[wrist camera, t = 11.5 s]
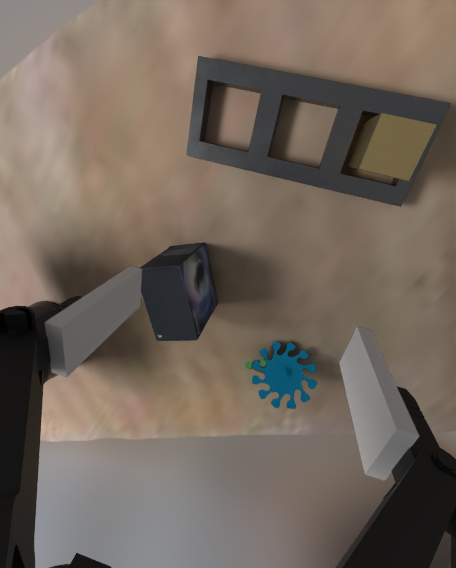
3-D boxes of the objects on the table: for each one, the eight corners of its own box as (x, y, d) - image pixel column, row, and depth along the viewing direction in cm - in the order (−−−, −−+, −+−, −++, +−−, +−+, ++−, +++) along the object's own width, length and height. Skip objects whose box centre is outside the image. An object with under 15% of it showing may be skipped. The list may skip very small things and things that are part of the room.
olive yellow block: (346, 166, 32) (358, 168, 25) (363, 123, 30) (381, 112, 23) (385, 175, 32) (408, 180, 25) (404, 132, 30) (436, 124, 23)
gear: (324, 352, 42) (308, 421, 39) (320, 357, 47) (305, 417, 44) (255, 330, 45) (235, 392, 42) (258, 337, 50) (241, 392, 47)
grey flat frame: (192, 155, 36) (186, 155, 34) (204, 61, 31) (198, 55, 30) (395, 204, 33) (400, 206, 31) (441, 106, 28) (451, 103, 26)
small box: (220, 304, 44) (199, 343, 35) (184, 305, 46) (155, 343, 37) (207, 241, 41) (180, 266, 31) (168, 245, 42) (131, 270, 33)
